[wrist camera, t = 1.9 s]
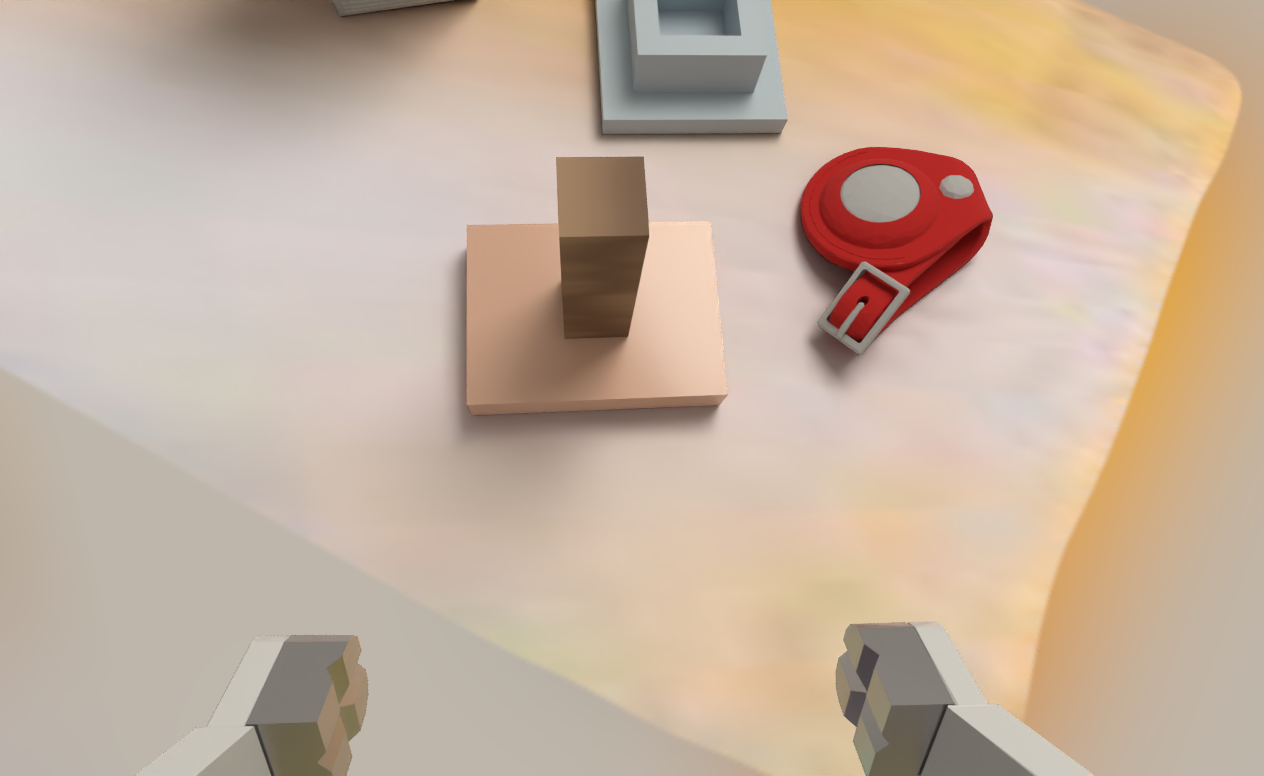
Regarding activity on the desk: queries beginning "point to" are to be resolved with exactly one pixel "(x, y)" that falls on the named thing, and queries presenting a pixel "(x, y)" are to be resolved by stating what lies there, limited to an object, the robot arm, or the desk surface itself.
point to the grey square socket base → (689, 67)
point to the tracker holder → (891, 232)
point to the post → (601, 242)
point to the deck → (590, 367)
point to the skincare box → (375, 5)
